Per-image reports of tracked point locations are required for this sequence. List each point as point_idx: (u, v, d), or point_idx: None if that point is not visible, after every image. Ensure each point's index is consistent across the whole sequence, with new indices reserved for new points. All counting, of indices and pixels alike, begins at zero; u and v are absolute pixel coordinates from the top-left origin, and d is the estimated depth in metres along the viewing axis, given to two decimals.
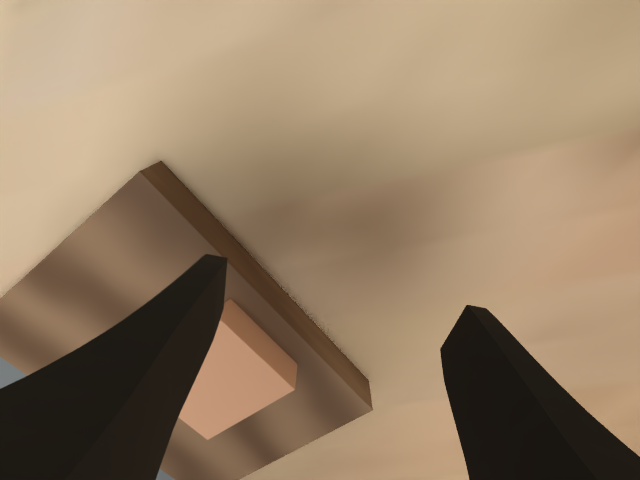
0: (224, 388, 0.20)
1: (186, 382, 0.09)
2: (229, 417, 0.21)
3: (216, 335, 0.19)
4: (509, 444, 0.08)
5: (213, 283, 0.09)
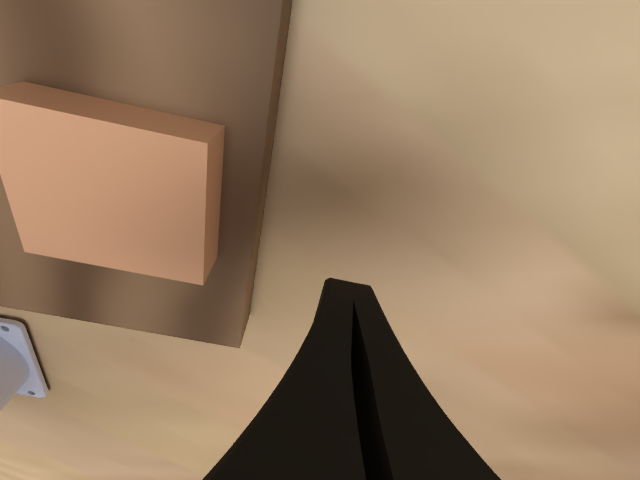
0: (116, 217, 0.13)
1: None
2: (85, 251, 0.14)
3: (179, 154, 0.11)
4: None
5: None
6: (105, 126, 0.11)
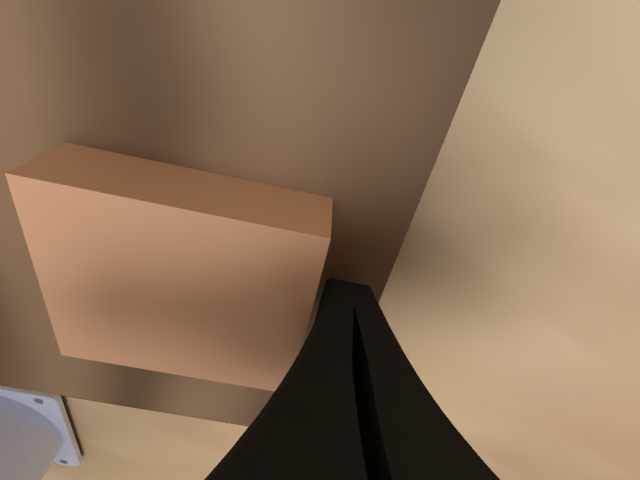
0: (187, 320, 0.10)
1: None
2: (141, 355, 0.11)
3: (288, 251, 0.08)
4: None
5: None
6: (187, 216, 0.08)
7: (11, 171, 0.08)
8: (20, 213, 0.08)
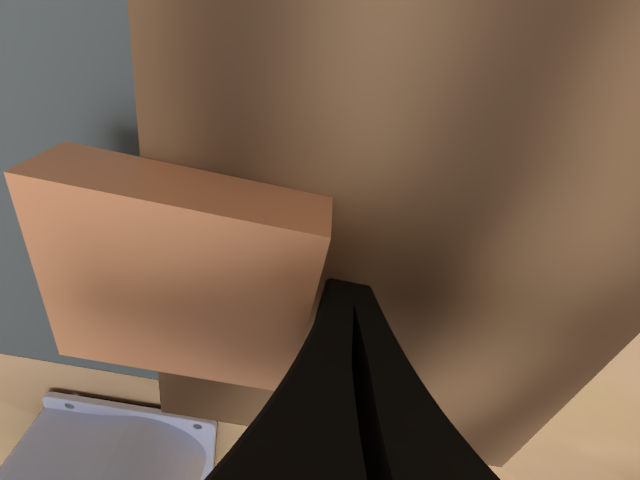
0: (186, 320, 0.10)
1: None
2: (140, 355, 0.11)
3: (288, 250, 0.08)
4: None
5: None
6: (187, 215, 0.08)
7: (10, 170, 0.08)
8: (19, 212, 0.08)
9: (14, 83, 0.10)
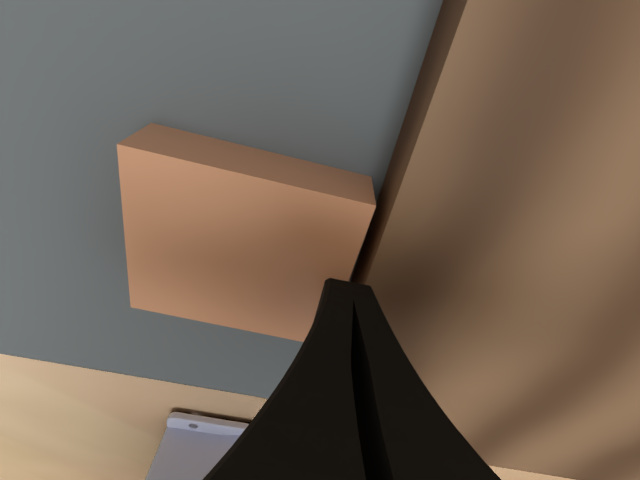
0: (246, 277, 0.11)
1: None
2: (201, 309, 0.12)
3: (340, 215, 0.10)
4: None
5: None
6: (261, 184, 0.10)
7: (120, 143, 0.09)
8: (121, 179, 0.10)
9: (244, 133, 0.11)
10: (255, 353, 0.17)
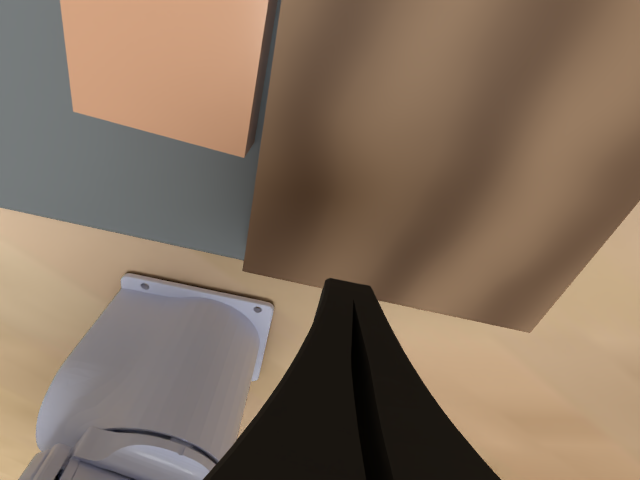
0: (170, 74, 0.13)
1: None
2: (134, 113, 0.14)
3: (241, 2, 0.12)
4: None
5: None
6: None
7: None
8: None
9: None
10: (195, 197, 0.19)
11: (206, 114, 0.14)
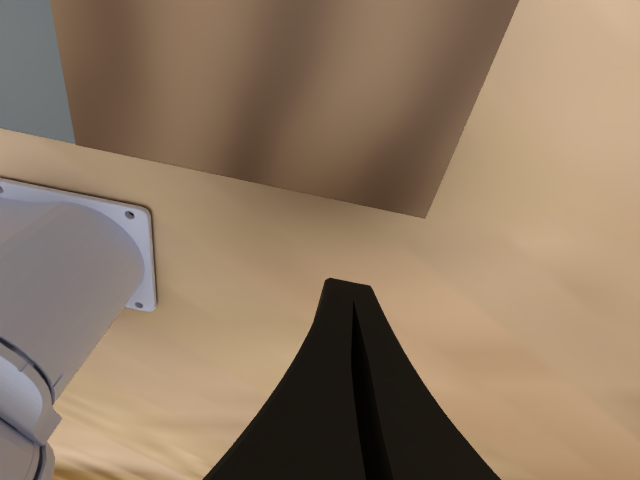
0: None
1: None
2: None
3: None
4: None
5: None
6: None
7: None
8: None
9: None
10: (22, 62, 0.16)
11: None
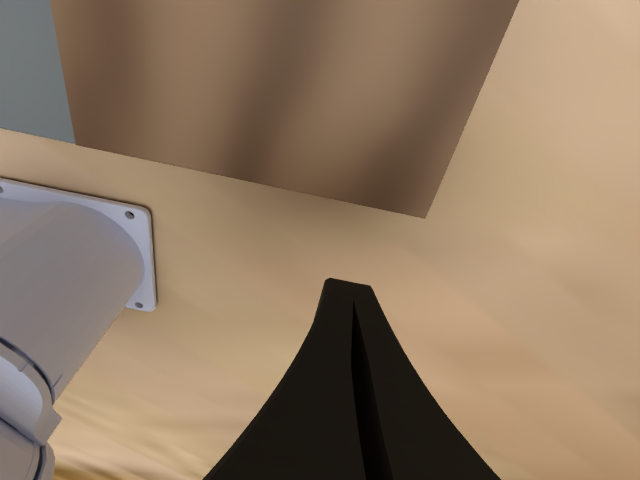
0: None
1: None
2: None
3: None
4: None
5: None
6: None
7: None
8: None
9: None
10: (22, 62, 0.16)
11: None
